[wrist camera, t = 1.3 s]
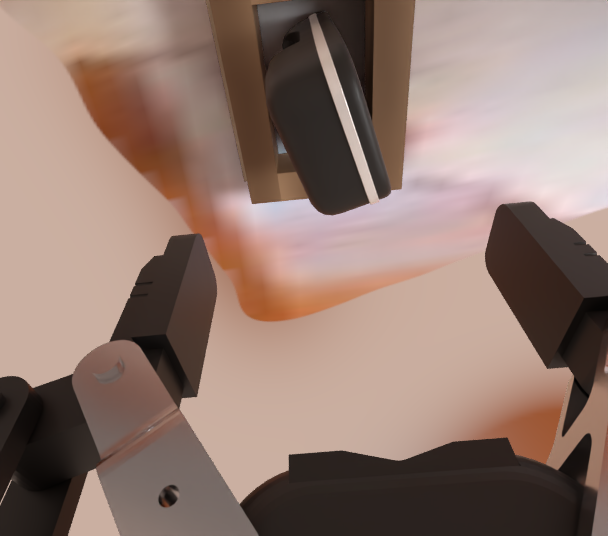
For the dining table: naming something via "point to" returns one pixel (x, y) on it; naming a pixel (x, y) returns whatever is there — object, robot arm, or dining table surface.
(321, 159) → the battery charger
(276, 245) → the dining table surface
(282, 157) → the frame
